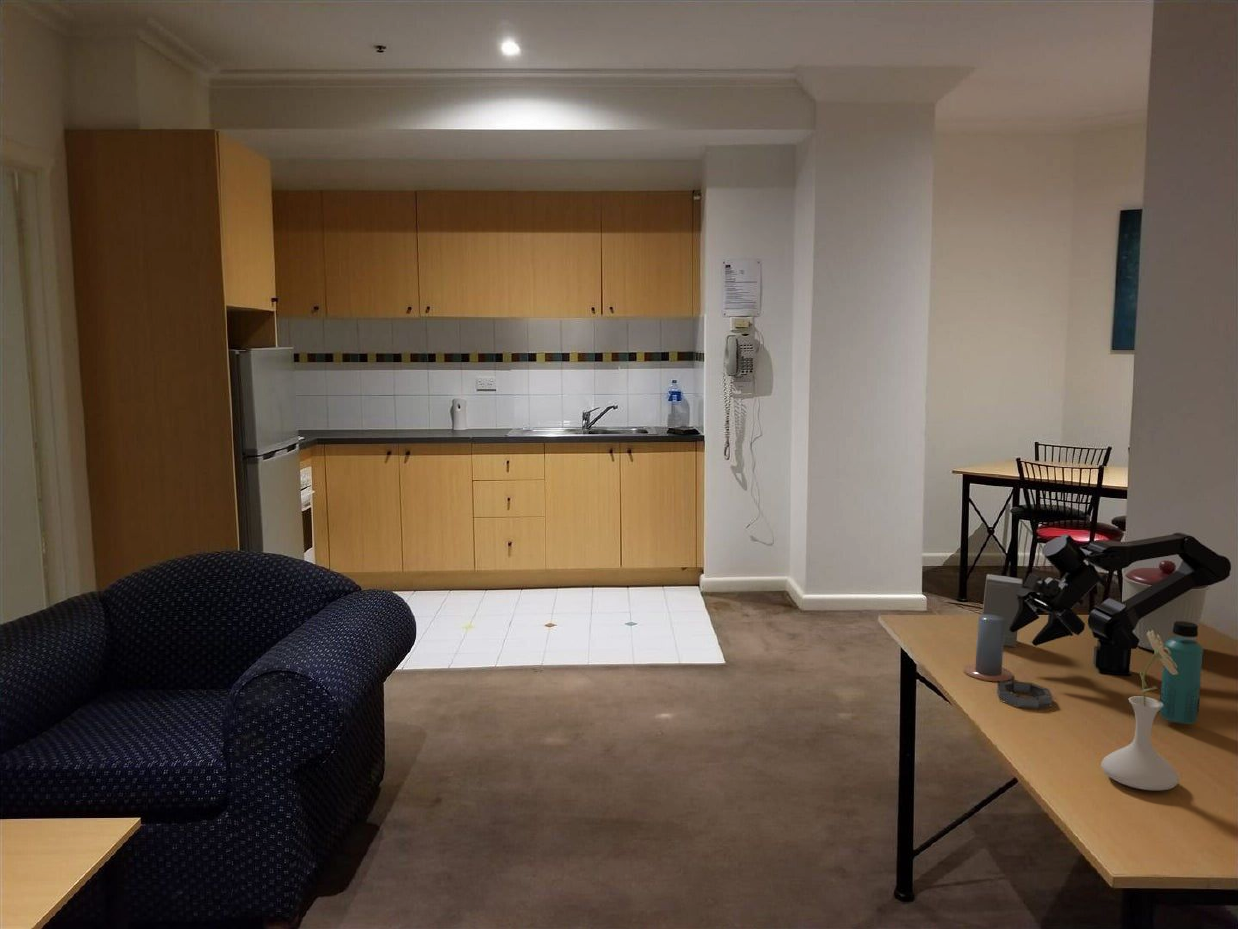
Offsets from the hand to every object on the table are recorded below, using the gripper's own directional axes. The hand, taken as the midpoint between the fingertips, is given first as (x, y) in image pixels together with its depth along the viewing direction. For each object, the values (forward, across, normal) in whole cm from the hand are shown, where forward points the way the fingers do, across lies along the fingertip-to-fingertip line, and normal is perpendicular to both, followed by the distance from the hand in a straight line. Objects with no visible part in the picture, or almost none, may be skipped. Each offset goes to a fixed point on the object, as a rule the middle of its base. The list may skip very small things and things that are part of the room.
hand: (1021, 637), depth 210 cm
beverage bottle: (-5, +30, +17) cm, 34 cm away
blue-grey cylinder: (+10, 0, 0) cm, 10 cm away
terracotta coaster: (+11, 0, 0) cm, 11 cm away
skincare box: (+1, -21, +11) cm, 24 cm away
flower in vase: (+11, +51, 0) cm, 52 cm away
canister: (-25, -15, +37) cm, 47 cm away
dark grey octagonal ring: (+11, +15, 0) cm, 19 cm away
